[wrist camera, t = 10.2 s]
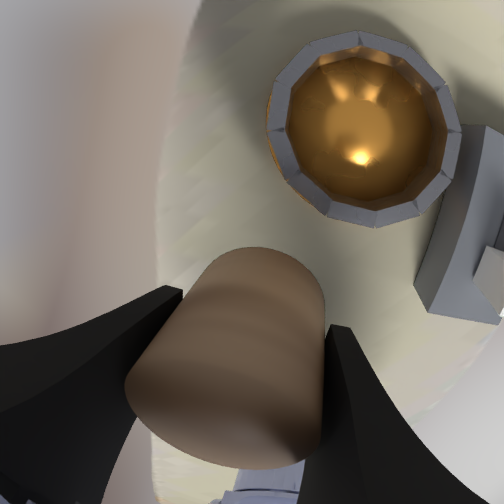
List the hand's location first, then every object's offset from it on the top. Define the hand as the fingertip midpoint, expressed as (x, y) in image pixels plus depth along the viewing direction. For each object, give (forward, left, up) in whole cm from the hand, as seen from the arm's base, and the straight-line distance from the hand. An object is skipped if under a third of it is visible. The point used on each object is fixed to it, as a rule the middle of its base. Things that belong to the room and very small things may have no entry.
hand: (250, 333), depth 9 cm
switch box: (+4, -12, -9) cm, 15 cm away
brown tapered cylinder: (0, 0, -1) cm, 1 cm away
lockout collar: (+7, -3, -9) cm, 11 cm away
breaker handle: (+2, -12, -5) cm, 13 cm away
